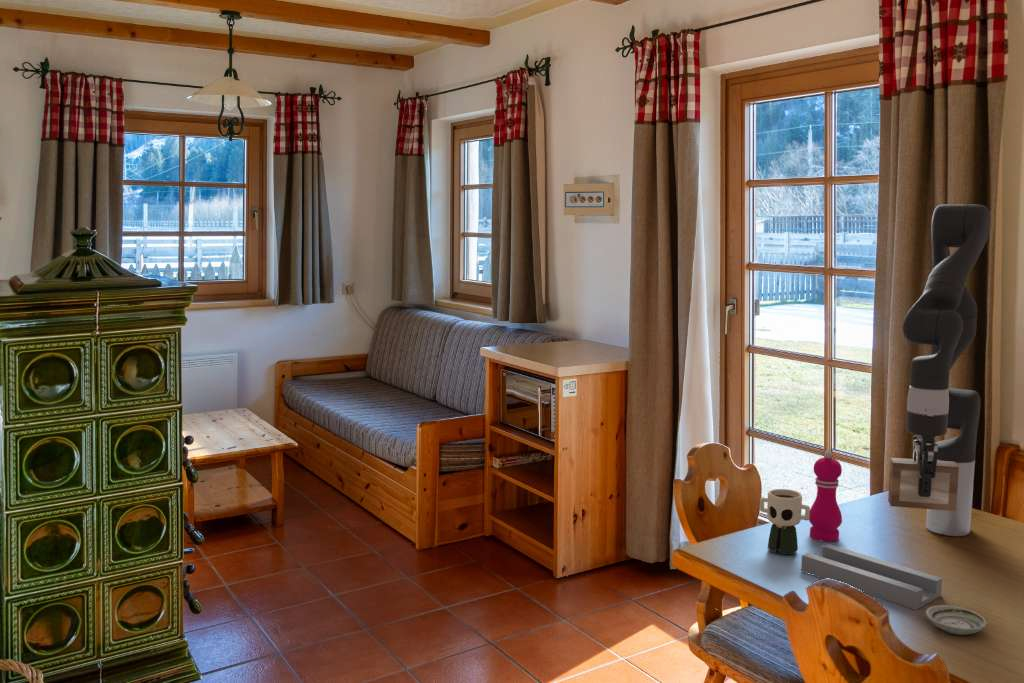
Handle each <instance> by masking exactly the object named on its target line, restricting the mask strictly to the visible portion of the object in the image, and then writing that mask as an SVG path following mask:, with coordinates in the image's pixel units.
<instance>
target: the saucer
mask: <svg viewBox="0 0 1024 683" xmlns="http://www.w3.org/2000/svg"><path fill="white" fill-rule="evenodd" d="M925 616H926V617H927V619H928V620H930V622H931V623H932V624H933V625H934V626H936V627H937V628H939V629H941V630H942V631H944V632H946V633H949V634H951V635H959V636H963V635H964V636H965V635H971V634H975V633H978V632H980V631H982V630H984V629H985V628H986V626H987V620H986V619H985V618H984V617H983V616H982V615H981V614H979V613H978V612H976V611H973V610H970V609H967V608H964V607H960V606H956V605H945V604H940V605H932V606H930V607H928V608H927V609H926V610H925Z"/></svg>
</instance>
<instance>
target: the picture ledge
mask: <svg viewBox="0 0 1024 683" xmlns="http://www.w3.org/2000/svg"><path fill="white" fill-rule="evenodd" d="M821 554H822V555H821V556H820V555H816V554H813V553H810V552H805V553H804V554H802V555H801V566H800V567H801V570H800V572H801V571H804V572H807V573H810V574H814V575H816V576H819V577H820V578H819V577H818V578H819V579H822V578H830V579H834V580H837V581H841V582H844V583H847V584H849V585H851V586H853V587H855V588H857V589H860V590H862V591H864V592H866V593H865V594H867V595H870V596H873V595H874V596H873V597H875V598H876V597H877V598H879V599H883V600H885V601H888V602H892V603H894V604H896V605H901V606H903V607H906V608H909V609H912V610H915V611H917V610H919V609H921V608H922V607H924V606H925V605H927V604H929V603H931V602H933V601H935V600H936V599H938V598H940V597H942V586H943V578H942V577H940V576H936V575H933V574H929V573H926V572H923V571H920V570H916V569H913V568H909V567H906V566H903V565H899V564H897V563H893V562H890V561H888V560H884V559H880V558H876V557H873V556H870V555H867V554H863V553H860V552H856V551H853V550H851V549H846V548H844V547H839V546H836V545H833V544H830V543H828V544H825V545H823V546H822V552H821ZM804 572H803V573H804ZM807 573H806V574H807ZM810 574H809V575H810ZM816 576H815V577H816ZM864 592H863V593H864Z"/></svg>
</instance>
